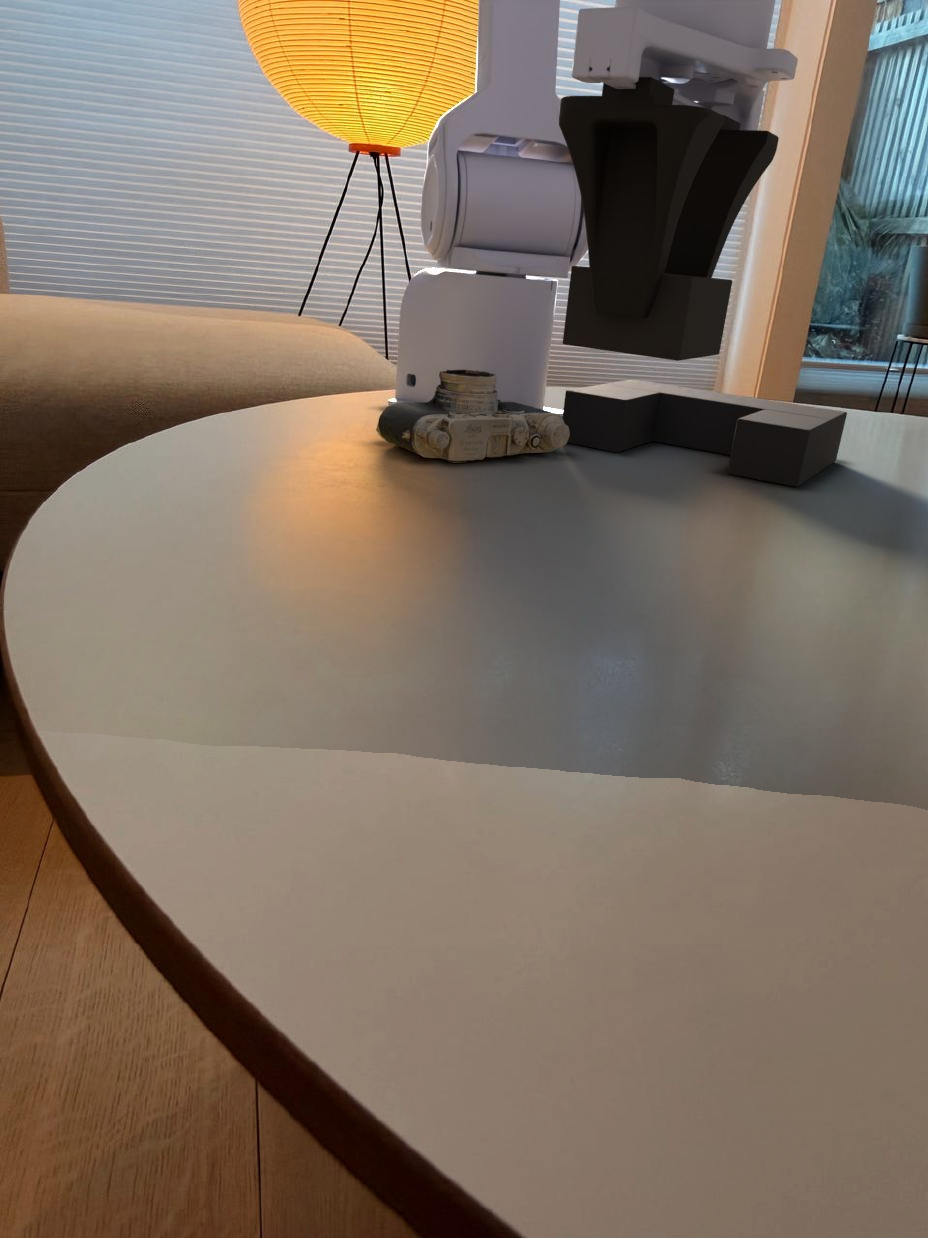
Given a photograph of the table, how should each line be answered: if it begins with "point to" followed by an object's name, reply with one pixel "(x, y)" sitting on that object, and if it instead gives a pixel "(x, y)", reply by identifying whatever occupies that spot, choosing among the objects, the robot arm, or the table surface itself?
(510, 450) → the camera
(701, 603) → the table surface
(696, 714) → the table surface
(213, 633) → the table surface
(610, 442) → the base pad
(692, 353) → the pad piece
